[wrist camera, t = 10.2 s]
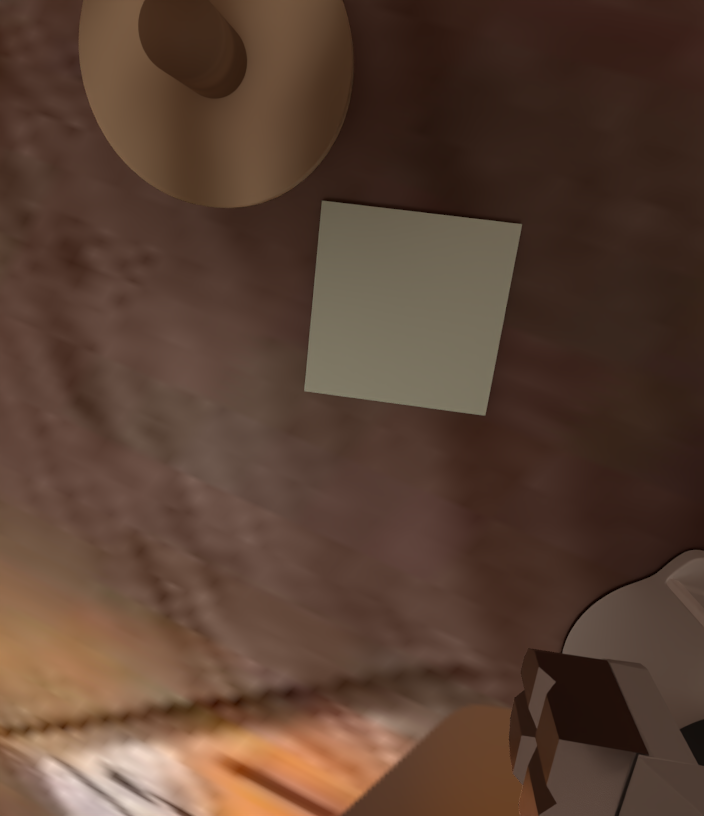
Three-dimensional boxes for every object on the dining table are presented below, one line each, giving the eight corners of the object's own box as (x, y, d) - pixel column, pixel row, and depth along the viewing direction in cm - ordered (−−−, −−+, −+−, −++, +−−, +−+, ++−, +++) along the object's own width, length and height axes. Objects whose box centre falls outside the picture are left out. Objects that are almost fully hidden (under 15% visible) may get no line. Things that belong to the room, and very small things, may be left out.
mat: (520, 224, 35) (522, 224, 35) (484, 412, 39) (485, 415, 38) (323, 201, 36) (321, 200, 35) (305, 388, 39) (304, 391, 39)
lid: (369, -81, 24) (359, -161, 19) (338, 222, 28) (323, 220, 23) (90, -106, 25) (10, -190, 20) (95, 193, 28) (28, 185, 23)
